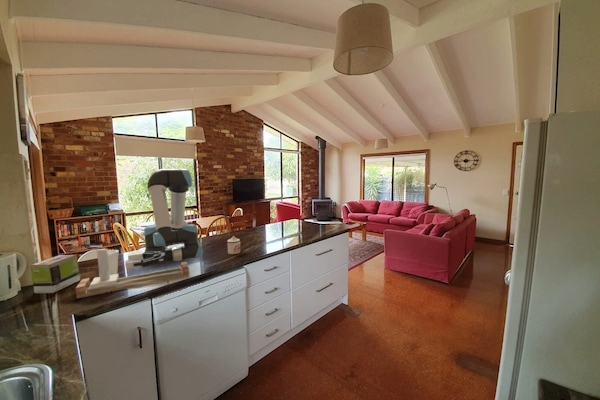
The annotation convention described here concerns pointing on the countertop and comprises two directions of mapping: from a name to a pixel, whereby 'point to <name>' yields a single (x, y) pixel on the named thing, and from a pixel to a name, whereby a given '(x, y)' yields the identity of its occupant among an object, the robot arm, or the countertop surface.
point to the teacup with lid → (233, 245)
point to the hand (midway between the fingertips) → (126, 261)
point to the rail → (133, 281)
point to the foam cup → (113, 261)
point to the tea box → (55, 273)
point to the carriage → (103, 271)
